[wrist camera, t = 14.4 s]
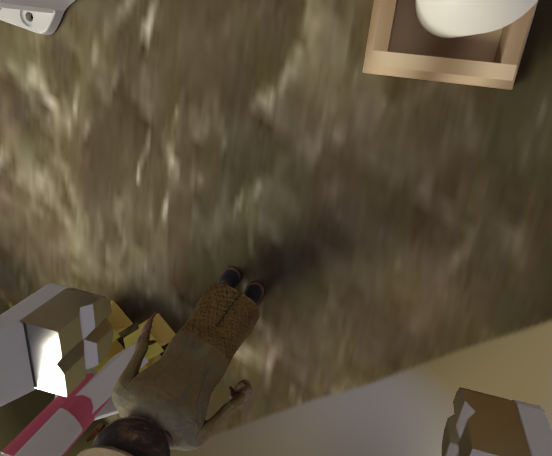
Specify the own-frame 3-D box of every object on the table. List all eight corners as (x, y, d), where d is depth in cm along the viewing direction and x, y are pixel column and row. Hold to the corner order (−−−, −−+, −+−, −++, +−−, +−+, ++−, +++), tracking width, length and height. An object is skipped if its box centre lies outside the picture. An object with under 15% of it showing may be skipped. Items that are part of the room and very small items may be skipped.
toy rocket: (136, 393, 59) (-93, 686, 32) (77, 324, 57) (-220, 573, 30) (198, 361, 53) (-14, 679, 27) (135, 284, 52) (-160, 542, 25)
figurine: (179, 299, 50) (-80, 584, 24) (213, 238, 46) (-57, 503, 20) (261, 353, 50) (91, 704, 23) (303, 297, 46) (153, 648, 19)
